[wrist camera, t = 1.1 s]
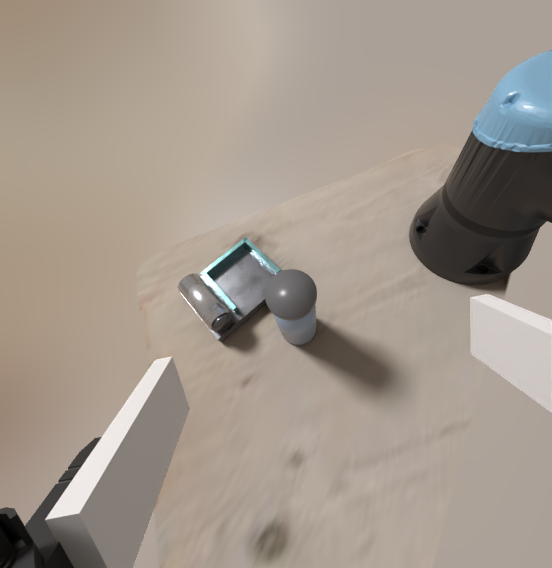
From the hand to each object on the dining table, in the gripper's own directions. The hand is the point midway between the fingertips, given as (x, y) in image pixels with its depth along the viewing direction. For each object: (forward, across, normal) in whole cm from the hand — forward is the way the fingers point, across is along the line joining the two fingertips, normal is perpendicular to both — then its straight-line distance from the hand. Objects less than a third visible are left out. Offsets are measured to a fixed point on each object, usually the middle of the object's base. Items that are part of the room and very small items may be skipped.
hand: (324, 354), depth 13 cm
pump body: (+26, 0, -11) cm, 28 cm away
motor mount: (+32, -8, -5) cm, 33 cm away
